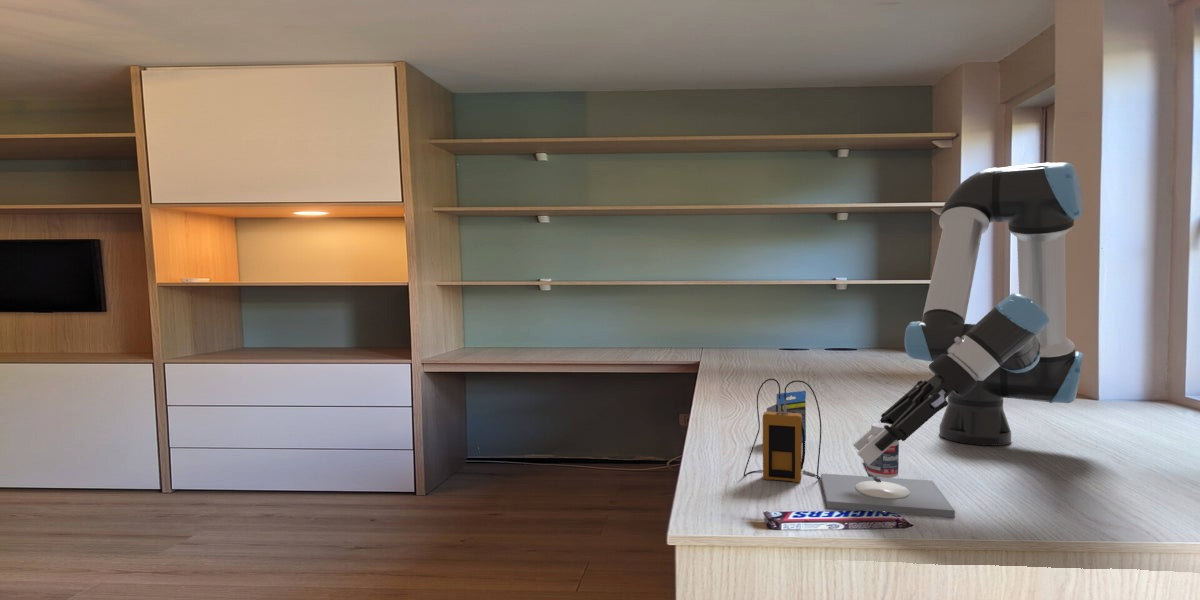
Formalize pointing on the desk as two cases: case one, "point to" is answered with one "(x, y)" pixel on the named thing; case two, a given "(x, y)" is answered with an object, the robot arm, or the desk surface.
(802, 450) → the multimeter
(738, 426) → the desk surface
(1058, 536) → the desk surface
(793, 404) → the label tape cartridge
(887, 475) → the pill bottle
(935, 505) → the board
